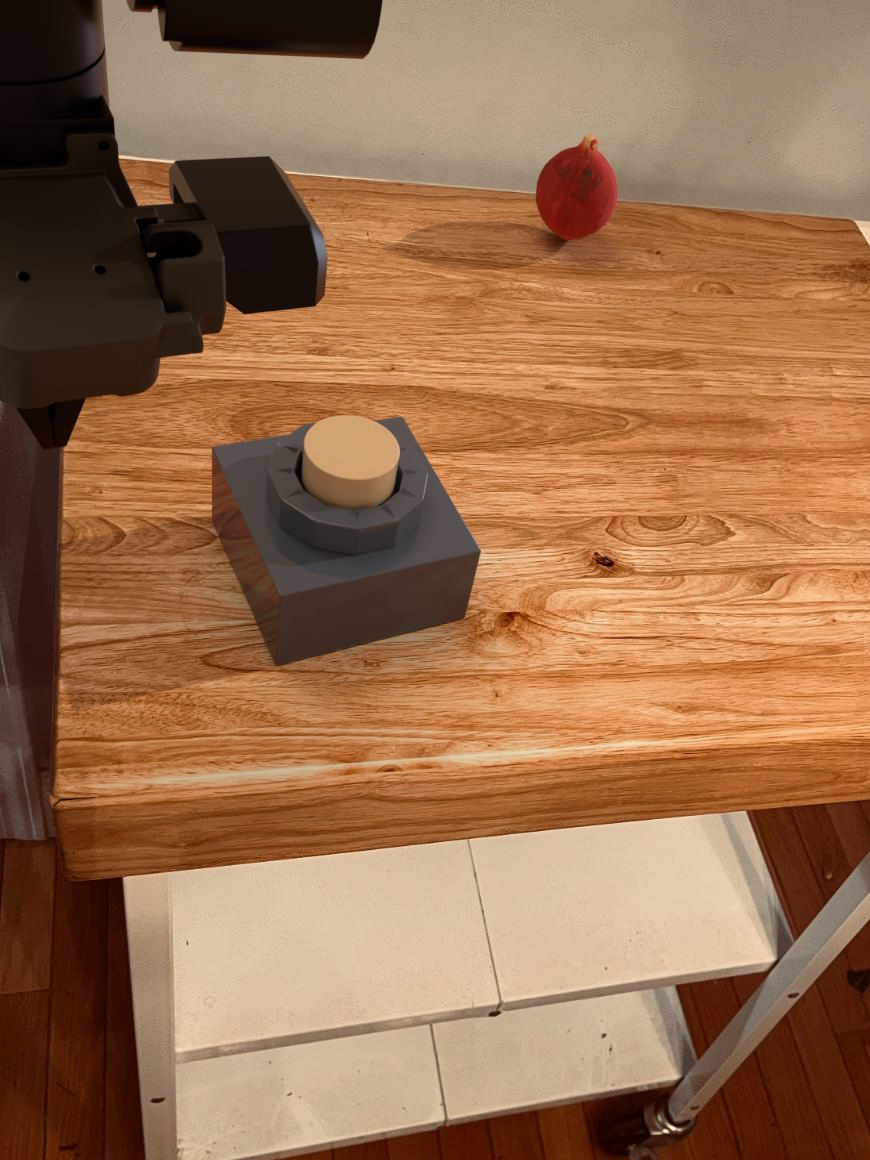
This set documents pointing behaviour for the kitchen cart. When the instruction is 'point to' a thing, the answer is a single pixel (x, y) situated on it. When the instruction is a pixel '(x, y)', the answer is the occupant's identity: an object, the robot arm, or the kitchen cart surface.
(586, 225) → the pomegranate
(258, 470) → the grey button base
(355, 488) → the tan push button
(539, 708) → the kitchen cart surface
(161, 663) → the kitchen cart surface
